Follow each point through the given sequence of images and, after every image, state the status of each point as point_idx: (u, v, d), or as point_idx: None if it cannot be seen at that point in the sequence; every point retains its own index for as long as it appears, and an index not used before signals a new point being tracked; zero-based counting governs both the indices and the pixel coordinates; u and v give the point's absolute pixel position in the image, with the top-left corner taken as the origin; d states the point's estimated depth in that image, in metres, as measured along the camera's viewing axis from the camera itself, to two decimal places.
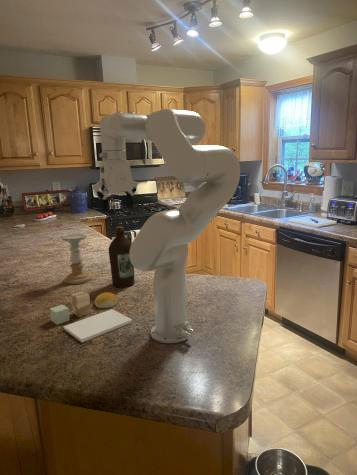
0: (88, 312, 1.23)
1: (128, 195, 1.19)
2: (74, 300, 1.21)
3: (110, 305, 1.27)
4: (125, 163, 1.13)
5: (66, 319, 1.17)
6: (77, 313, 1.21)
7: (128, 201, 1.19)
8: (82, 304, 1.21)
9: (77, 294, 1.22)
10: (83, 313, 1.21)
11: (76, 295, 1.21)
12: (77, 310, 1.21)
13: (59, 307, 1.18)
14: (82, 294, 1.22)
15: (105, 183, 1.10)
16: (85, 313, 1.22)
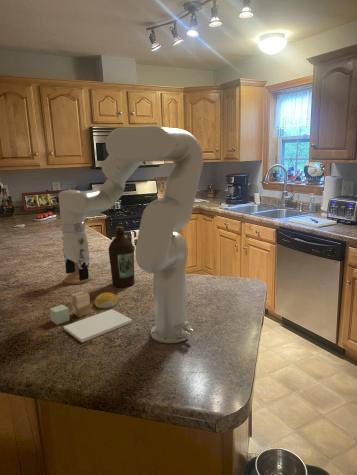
0: (88, 312, 1.23)
1: (70, 261, 1.23)
2: (74, 300, 1.21)
3: (110, 305, 1.27)
4: None
5: (66, 319, 1.17)
6: (77, 313, 1.21)
7: (71, 266, 1.24)
8: (82, 304, 1.21)
9: (77, 294, 1.22)
10: (83, 313, 1.21)
11: (76, 295, 1.21)
12: (77, 310, 1.21)
13: (59, 307, 1.18)
14: (82, 294, 1.22)
15: (86, 253, 1.16)
16: (85, 313, 1.22)
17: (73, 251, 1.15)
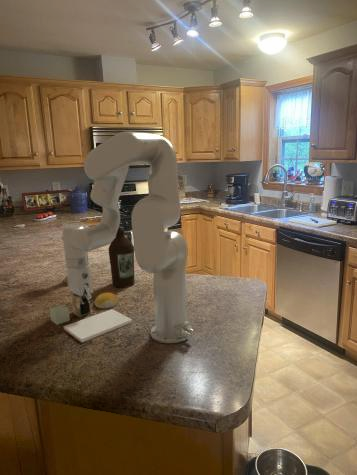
0: None
1: None
2: (74, 300, 1.21)
3: (110, 305, 1.27)
4: None
5: (66, 319, 1.17)
6: (77, 313, 1.21)
7: None
8: None
9: None
10: None
11: (76, 295, 1.21)
12: (77, 310, 1.21)
13: (59, 307, 1.18)
14: None
15: (89, 287, 1.18)
16: None
17: (77, 285, 1.17)
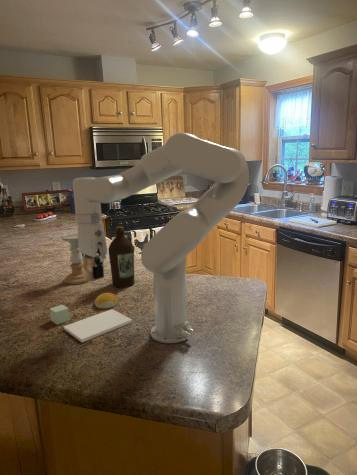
0: None
1: None
2: (86, 263, 1.07)
3: (110, 305, 1.27)
4: None
5: (66, 319, 1.17)
6: (89, 277, 1.07)
7: None
8: None
9: (89, 256, 1.09)
10: None
11: (88, 257, 1.08)
12: (89, 273, 1.07)
13: (59, 307, 1.18)
14: None
15: (103, 246, 1.05)
16: None
17: (90, 244, 1.04)
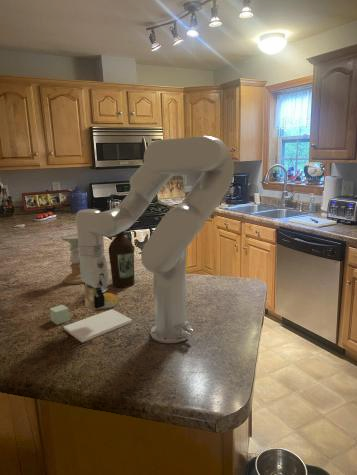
0: None
1: None
2: (87, 292, 1.10)
3: (110, 305, 1.27)
4: None
5: (66, 319, 1.17)
6: (90, 306, 1.10)
7: None
8: None
9: None
10: None
11: (89, 286, 1.10)
12: (90, 303, 1.09)
13: (59, 307, 1.18)
14: None
15: (105, 277, 1.07)
16: None
17: (92, 276, 1.06)
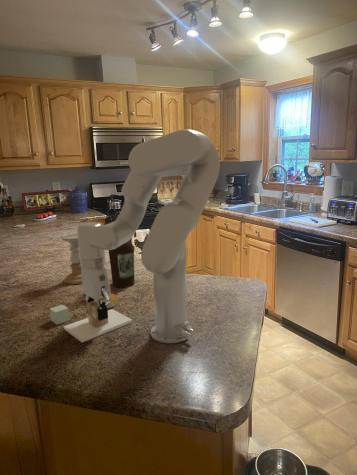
0: (105, 322, 1.12)
1: (92, 300, 1.14)
2: (90, 310, 1.11)
3: (110, 306, 1.27)
4: None
5: (66, 319, 1.17)
6: (94, 323, 1.11)
7: None
8: None
9: (93, 302, 1.12)
10: (100, 323, 1.11)
11: (92, 304, 1.11)
12: (93, 320, 1.10)
13: (59, 307, 1.18)
14: None
15: (107, 290, 1.08)
16: (102, 323, 1.12)
17: (93, 288, 1.06)
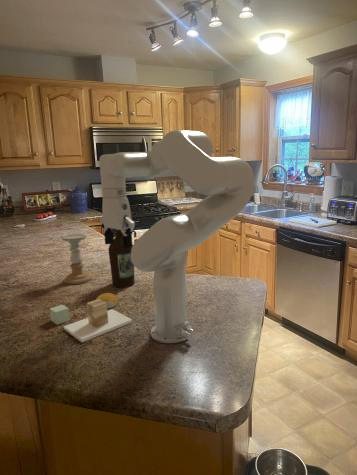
0: (105, 322, 1.12)
1: (109, 231, 1.18)
2: (90, 310, 1.11)
3: (110, 306, 1.27)
4: None
5: (66, 319, 1.17)
6: (94, 323, 1.11)
7: (110, 237, 1.18)
8: (100, 314, 1.10)
9: (93, 302, 1.12)
10: (100, 323, 1.11)
11: (92, 304, 1.11)
12: (93, 320, 1.10)
13: (59, 307, 1.18)
14: (99, 303, 1.11)
15: None
16: (102, 323, 1.12)
17: (116, 217, 1.10)
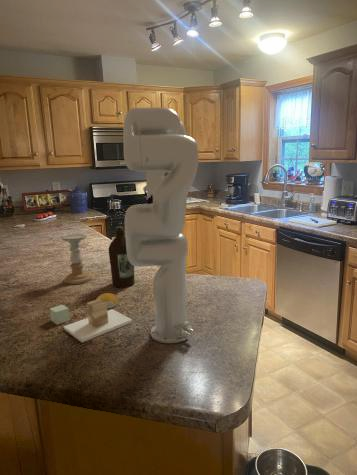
0: (105, 322, 1.12)
1: (151, 199, 1.32)
2: (90, 310, 1.11)
3: (111, 306, 1.27)
4: None
5: (66, 319, 1.17)
6: (94, 323, 1.11)
7: (152, 204, 1.32)
8: (100, 314, 1.10)
9: (93, 302, 1.12)
10: (100, 323, 1.11)
11: (92, 304, 1.11)
12: (93, 320, 1.10)
13: (59, 307, 1.18)
14: (99, 303, 1.11)
15: None
16: (102, 323, 1.12)
17: None
